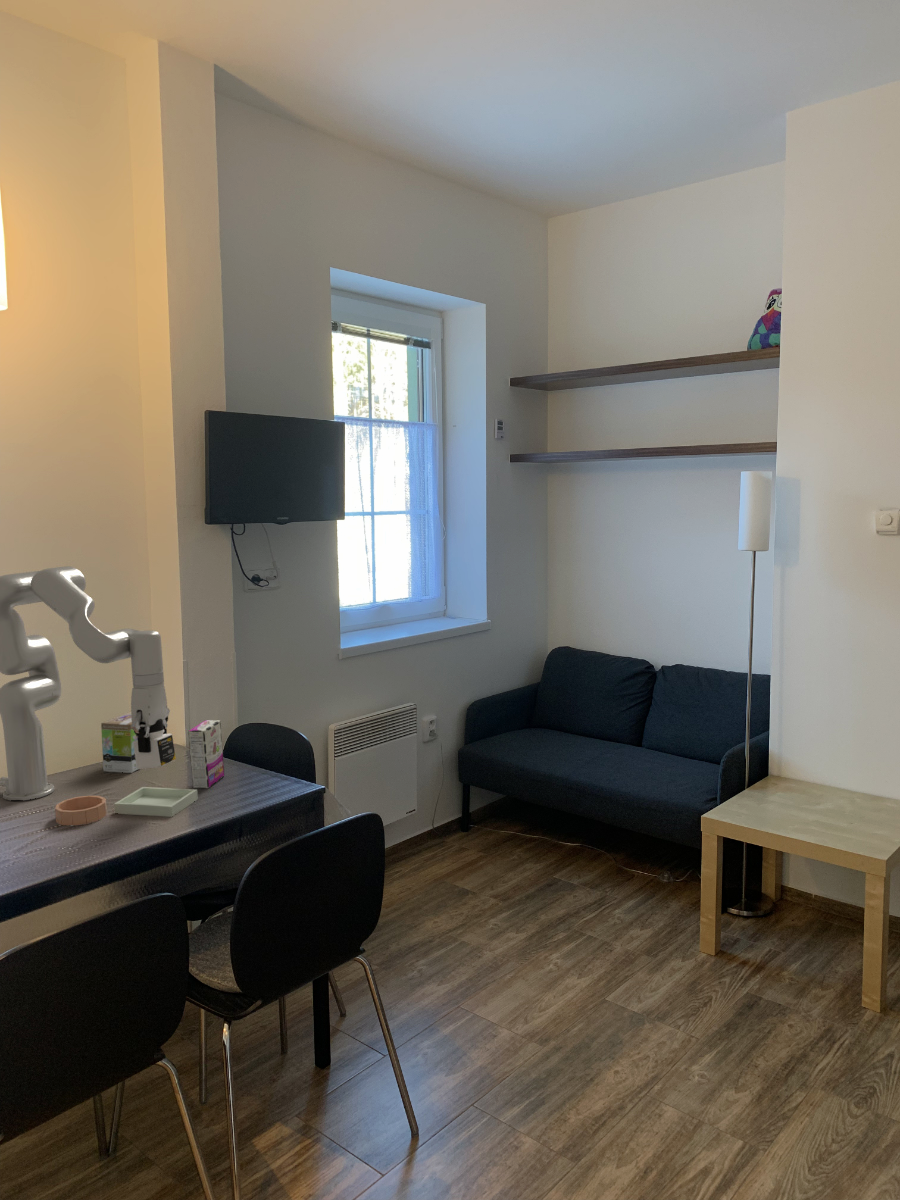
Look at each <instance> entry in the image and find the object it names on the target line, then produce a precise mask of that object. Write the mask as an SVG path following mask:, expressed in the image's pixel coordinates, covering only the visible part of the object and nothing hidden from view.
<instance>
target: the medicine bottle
mask: <svg viewBox="0 0 900 1200" xmlns="http://www.w3.org/2000/svg"><path fill="white" fill-rule="evenodd" d="M142 724H146V723H142ZM142 729H143V731H145V728H142ZM163 733H164V727H163V720H162V719H159V720H157V721H156V723H155V724H153V725H152V726H150V729H149V734H148V737H150V744H151V752H149V753H143V752H139V751H138V740H137V741H134V742H133V745H134V752H135V758H136V764H137V770H142V769H143V770H144V769H155V768H163V767H165V766H167V765H169V764H171V763H173V762H175V761H176V759H177V757H176V752H175V745H174V739H173V734H172V733H167V734H163Z"/></svg>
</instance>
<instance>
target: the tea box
mask: <svg viewBox="0 0 900 1200" xmlns="http://www.w3.org/2000/svg"><path fill="white" fill-rule="evenodd" d="M131 725H132V719H131V711H128V712H126V713H123V714H121V715H118V716H115V717H114V718H111V719H108V720H106V721H103V722H101V727H100V728H101V744H102V745H101V746H102V765H103V767H102V768H103V772H109V773H122V772H123V773H124V774H125V773H127V774H133V773H134V772H136V771H137V770H138V769H137V764H136V758H135V752H134V745H133V742H134V741H137V740H138V739H137V737H136V734H135V733H134V730H133V729H132V727H131Z"/></svg>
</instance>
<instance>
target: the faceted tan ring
mask: <svg viewBox="0 0 900 1200" xmlns="http://www.w3.org/2000/svg"><path fill="white" fill-rule="evenodd" d="M54 813H55V822H56V823H57V824H59V825H61V826H69V825H75V826H81V825H82V824H83V825H87V824H92V823H95V822H98V820H99V821H100V820H102V819H103V818H105V817H107V813H108V809H107V799H106V798H105V797H103V796H101V795H84V796H83V795H82V796H81V795H80V796H76V797H71V798H68V799H64V800H62V801H60V802H58V803H57V804H56V805H55V808H54ZM91 822H92V823H91Z"/></svg>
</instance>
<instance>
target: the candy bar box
mask: <svg viewBox="0 0 900 1200" xmlns="http://www.w3.org/2000/svg"><path fill="white" fill-rule="evenodd" d="M187 734H188V745H189V755H190V766H191V767H190V768H191V777H192V778H191V780H192V788H193V789H210V788H211V787H213V786H214V785H215V784H216V783H217V782H219V781H220V780H221V779H222V778H224V777H225V776H226V775H225V765H224V764H225V761H224V754H223V753H224V751H223V740H222V739H223V738H222V725H221V720H217V719H208V720H207V719H206V720H204V721H202V722H201V723H199V724H197V725H196V726H194V727H192V728H191V729H190V730H188V732H187ZM224 775H225V776H224ZM223 776H224V777H223ZM221 777H222V778H221ZM220 778H221V779H220ZM219 779H220V780H219ZM218 780H219V781H218ZM215 782H216V783H215ZM214 783H215V784H214ZM213 784H214V785H213ZM209 787H210V788H209Z"/></svg>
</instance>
